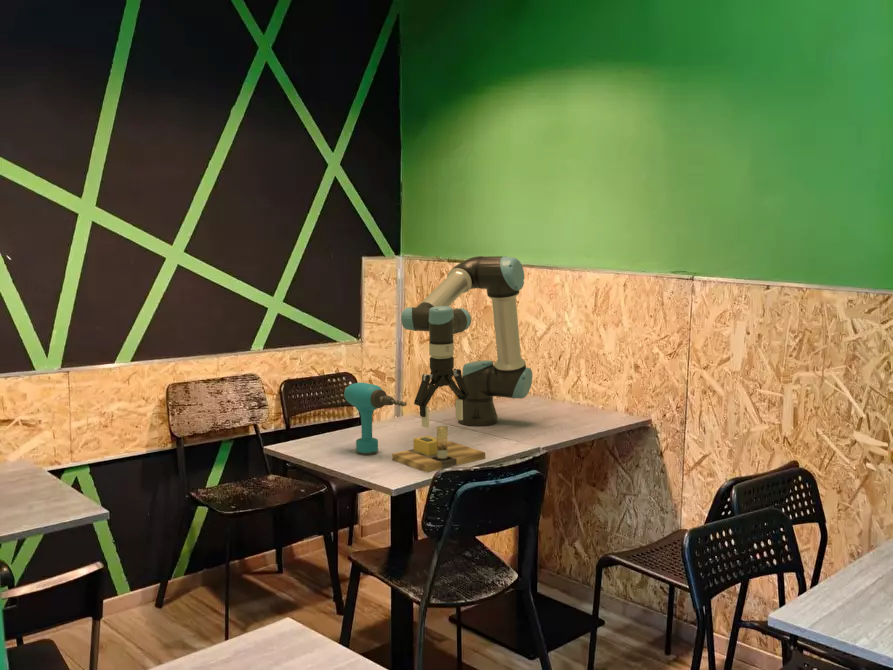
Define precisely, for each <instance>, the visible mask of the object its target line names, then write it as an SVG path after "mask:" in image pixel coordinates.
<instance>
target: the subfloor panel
mask: <svg viewBox="0 0 893 670" xmlns="http://www.w3.org/2000/svg"><path fill="white" fill-rule="evenodd" d="M391 457H392V458H391V459H392V461H395V462H398V463H400V464H403V465H405V466H409V467H412V468H414V469H416V470H419V471H421V472H425V473H429V472H435V471H439V470H442V469H446V468H449V467H455V466H459V465H463V464H467V463H471V462H476V461H479V460H484V459H486V452H485V451H482V450H479V449H475V448H473V447H469V446H466V445H463V444H460V443H457V442H454V441H450V440H449V441H448V460H445V461H438V460H437V454H434V455H430V456H428V455H425V454H422V453H419V452H416V451H414V448H413V449H412V448H411V449H408V450H407V449H406V450H403V451H398V452H393V453H392V454H391Z"/></svg>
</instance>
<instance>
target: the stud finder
mask: <svg viewBox="0 0 893 670" xmlns="http://www.w3.org/2000/svg"><path fill="white" fill-rule="evenodd" d="M413 449H414V451H416V452H419V453H422V454H425V455H428V456H430V455H434V454H437V437H433V436H431V435H424V436H421V437H416V438H413Z"/></svg>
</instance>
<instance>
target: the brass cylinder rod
mask: <svg viewBox="0 0 893 670" xmlns="http://www.w3.org/2000/svg"><path fill="white" fill-rule="evenodd" d="M448 430H449V429H448V426H445V425H440V426H439V425H438V426H436V438H437V460H438V461H445V460H448V442H449V441H448V438H449V437H448V435H449V434H448Z"/></svg>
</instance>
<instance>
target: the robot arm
mask: <svg viewBox="0 0 893 670" xmlns="http://www.w3.org/2000/svg"><path fill="white" fill-rule="evenodd" d="M524 280H525V271H524V268H523V264H522V263H521V261H520V260H519V259H518V258H517V257H512V256H507V255H505V256H494V255H493V256H489V255H488V256H484V255H483V256H482V255H481V256H480V255H478V256H473V257H470V258H468V259H466V260H463V261H461V262H459V263H458V264H456V265H455V266H454V267H453V268H451V270H449V271H448V273H447V275H446V278H445V279H444V280H443V281H442V282H441V283H440V284H439V285H437V287H436V288H434V290H433V291H431V292H430V294H428V295H427V296H426V297H425V298H424V299H423V300H422V301H421V302H420V303H419V304H418V305H417V306H416V307H414V306H411V307H410V306H409V307H405V308H403V311H402V313H401V320H400V321H401V325H402V327H403V328H404V329H405V330H407V331H414V332H429V333H428V334H429V335H428V340H429V344H428V345H429V349H428V350H429V356H430V357H429V369H430V373H429V374H426V373H423V374H422V375H421V383H420V386H419V387H418V391H417V393H416V397H415V399H414V402H413V403H414V405H415V406H418V407H419V416H420V417H421V427H423V428H426V429H427V428H429V427H430V412H429V411H430V409H429V406H427V405H428V404H429V403H430V401H431V399H432V397H433V395H434V394H435V392H436V391H437V390H438V389H439V388H442V387H449V389H451V391H452V392H453V394H454V395H455V396H456V398H455V399H454V400H455V401H454V402H455V419H456V420H457V422H458V423H459V424H462V425H465V426H472V427H473V426H474V427H481V426H482V427H484V426H492V425H495V424H497V423H498V414H497V410H496V406H495V404H494V397H499V398H509V399H512V400H513V399H514V400H515V399H521V400H522V399H525V398H526V397H527V396H528V394H529V393H530V390H531V387H532V383H533V370H532V368H530V367H527V364H526V360H525V359H524V358H522V355H521V354H522V353H521V343H520V331H519V330H520V329H519V317H518V308H517V297H518V295H519V294H520V291H521V290H522V289H523V288H524V285H525V281H524ZM474 289H481V290H486V295H487V297H488V298H489V299H490V300H491V303H492V314H493V325H494V333H495V344H496V355H497V360H496V361H495V362H494V361H493V360H488V359H486V360H477V361H471V362H467V363H465V364H463V366H462V369H459V368H455V360H454V359H455V357H453V356H454V353H455V351H454V350H455V349H454V335H455V334H458V333H463V332H465V331H466V330H467V329H469V328H470V326H471V324H472V316H471V314H470V312H469V311H468V310H466V309H465V308H462V307H460V308H458V307H456V308H454V309H453V308H452V306H451V305H452V303H454V302H455V301H456V300H457V299H458V298H459V297H460V296H461V295H462V294H465V293H467V292H469V291H470V290H474ZM453 378H454V379H453Z"/></svg>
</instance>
